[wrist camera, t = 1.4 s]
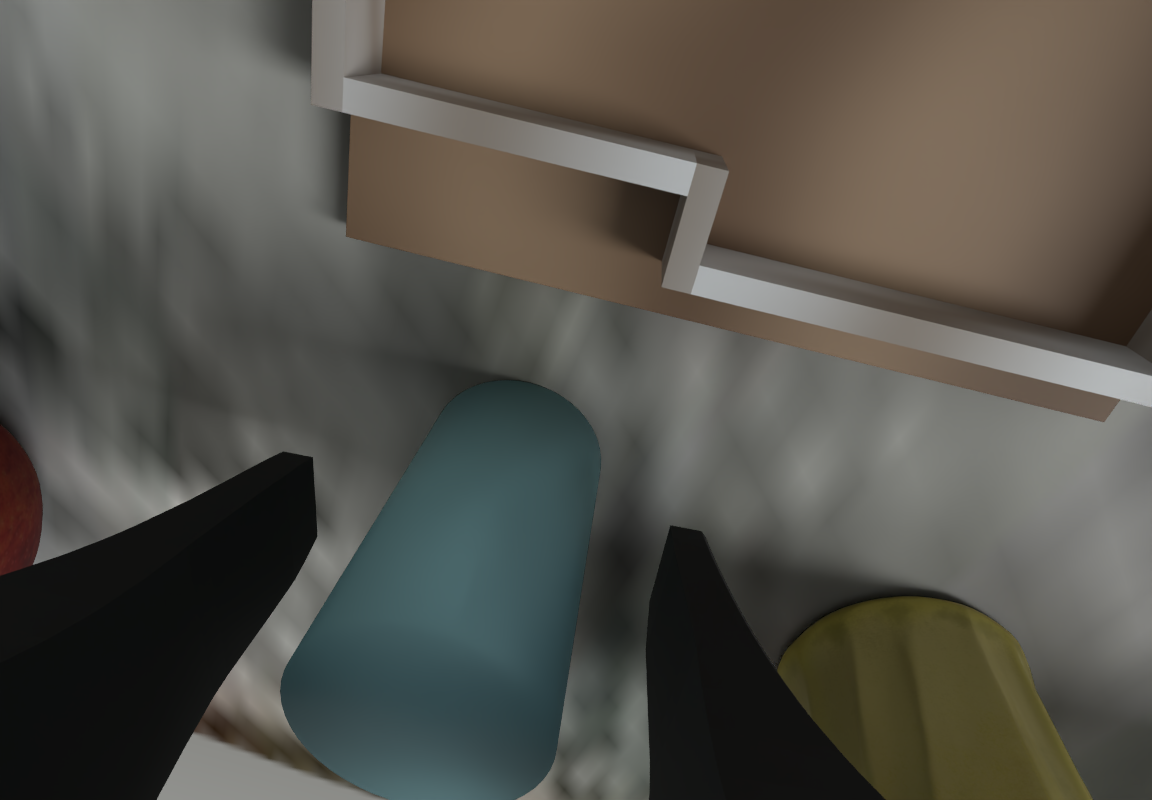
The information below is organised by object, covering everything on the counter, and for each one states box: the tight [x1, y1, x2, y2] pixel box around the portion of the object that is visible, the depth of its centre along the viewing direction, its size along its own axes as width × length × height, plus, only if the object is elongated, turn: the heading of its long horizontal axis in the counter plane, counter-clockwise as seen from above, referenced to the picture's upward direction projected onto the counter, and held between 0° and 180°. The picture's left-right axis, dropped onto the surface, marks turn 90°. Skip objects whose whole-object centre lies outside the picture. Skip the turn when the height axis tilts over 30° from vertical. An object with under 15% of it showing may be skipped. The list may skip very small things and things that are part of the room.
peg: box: [280, 380, 601, 800], centre depth 12 cm, size 4×4×7 cm
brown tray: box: [311, 0, 1152, 422], centre depth 10 cm, size 15×11×2 cm
